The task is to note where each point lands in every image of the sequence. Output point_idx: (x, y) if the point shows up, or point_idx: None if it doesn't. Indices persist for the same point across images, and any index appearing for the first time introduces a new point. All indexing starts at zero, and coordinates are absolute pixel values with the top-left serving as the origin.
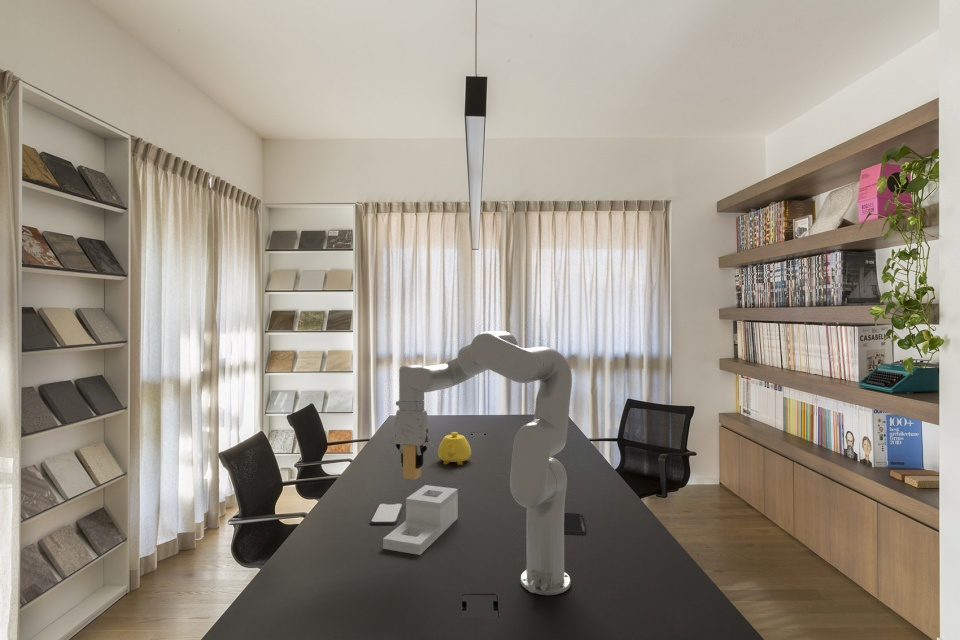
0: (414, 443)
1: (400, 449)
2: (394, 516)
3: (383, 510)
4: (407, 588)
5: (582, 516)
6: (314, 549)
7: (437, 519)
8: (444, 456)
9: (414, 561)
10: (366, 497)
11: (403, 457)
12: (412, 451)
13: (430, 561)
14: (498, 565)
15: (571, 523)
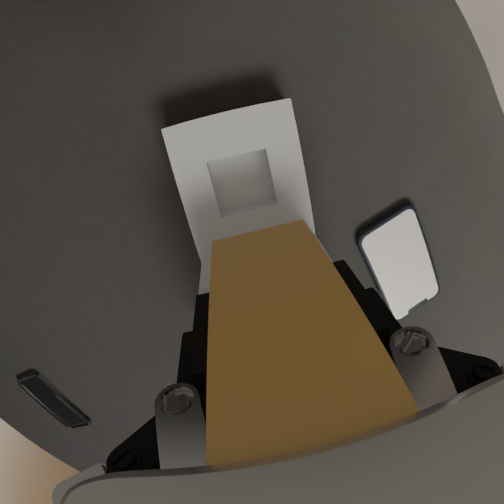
0: (173, 495)
1: (430, 356)
2: (377, 261)
3: (417, 271)
4: (88, 3)
5: (61, 422)
6: (424, 29)
7: (210, 269)
8: None
9: (155, 92)
10: (475, 304)
11: (351, 301)
12: (242, 389)
13: (120, 119)
14: (6, 207)
15: (51, 400)
